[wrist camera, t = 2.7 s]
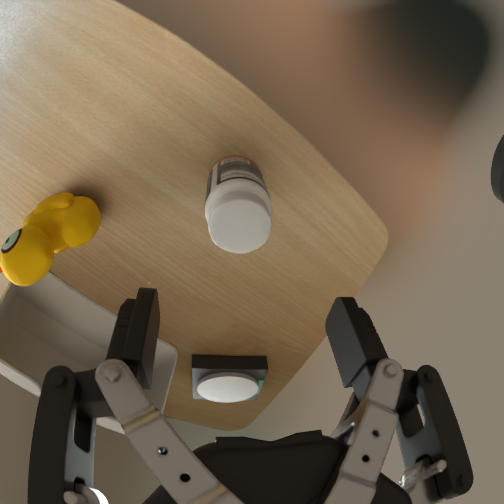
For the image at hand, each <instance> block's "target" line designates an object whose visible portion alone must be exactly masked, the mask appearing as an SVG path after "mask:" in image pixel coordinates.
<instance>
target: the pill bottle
mask: <svg viewBox="0 0 504 504" xmlns="http://www.w3.org/2000/svg"><path fill="white" fill-rule="evenodd" d="M271 215H272V205H271V200H270V196H269V194H268V191H267V189H266V186H265V183H264V181H263V178H262V175H261V172H260V170H259V169H258V167H257V166H256V165H255V164H254V163H253V162H252V161H251V160H249V159H247V158H244V157H239V156H231V157H227V158H224V159H222V160H221V161H219V162H218V163H217V164H215V165H214V167H213V168H212V170H211V171H210V174H209V177H208V184H207V193H206V200H205V216H206V220H207V222H208V229H209V234H210V236H211V238H212V240H213V242H214V243H215V244H216V245H217V246H218V247H220V248H221V249H223V250H225V251H227V252H231V253H238V254H239V253H248V252H251V251H254V250H256V249H257V248H259V247H260V246H262V245H263V244H264V243H265V242H266V241H267V239H268V237H269V236H270V233H271V229H272V221H271Z"/></svg>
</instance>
